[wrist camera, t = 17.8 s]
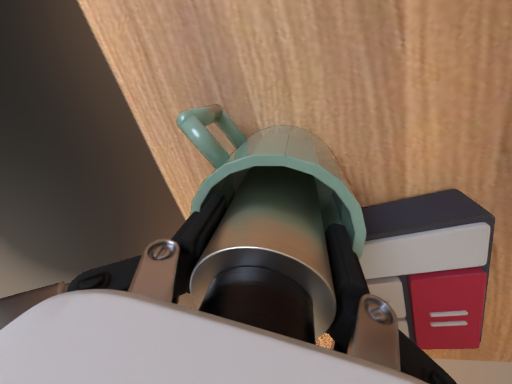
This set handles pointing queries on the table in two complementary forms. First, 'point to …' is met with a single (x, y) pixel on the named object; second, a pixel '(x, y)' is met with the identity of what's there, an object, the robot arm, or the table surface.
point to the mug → (272, 154)
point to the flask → (269, 258)
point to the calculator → (431, 266)
